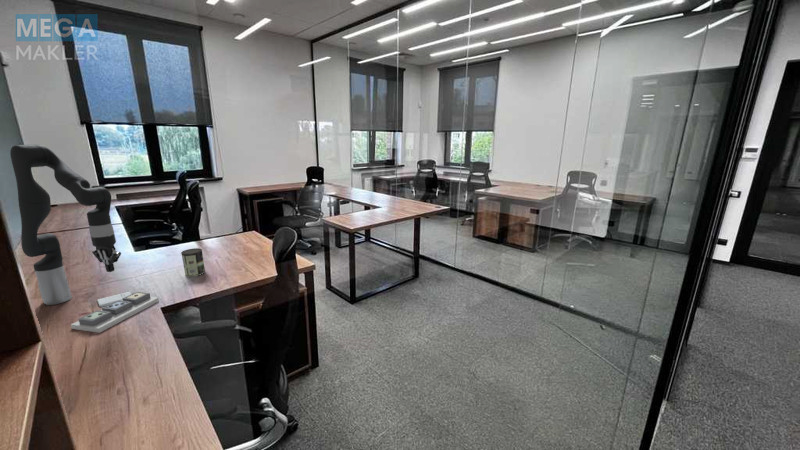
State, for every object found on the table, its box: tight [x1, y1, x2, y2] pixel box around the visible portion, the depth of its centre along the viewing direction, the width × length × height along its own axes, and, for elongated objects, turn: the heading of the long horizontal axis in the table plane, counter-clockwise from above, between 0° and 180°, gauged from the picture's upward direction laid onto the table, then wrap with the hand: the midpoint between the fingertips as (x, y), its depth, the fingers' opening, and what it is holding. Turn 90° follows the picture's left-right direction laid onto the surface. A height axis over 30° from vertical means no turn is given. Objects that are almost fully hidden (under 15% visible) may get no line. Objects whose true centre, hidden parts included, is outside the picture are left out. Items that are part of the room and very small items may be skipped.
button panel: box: [70, 291, 160, 334], centre depth 144 cm, size 14×27×4 cm, turn 170°
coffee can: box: [180, 247, 206, 278], centre depth 187 cm, size 10×10×14 cm
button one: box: [127, 292, 145, 299], centre depth 152 cm, size 5×5×3 cm
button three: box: [106, 302, 126, 309], centre depth 143 cm, size 5×5×3 cm
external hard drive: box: [96, 291, 132, 308], centre depth 157 cm, size 2×8×12 cm
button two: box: [83, 312, 106, 320], centre depth 135 cm, size 5×5×3 cm
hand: (110, 271), depth 142 cm, fingers closed
